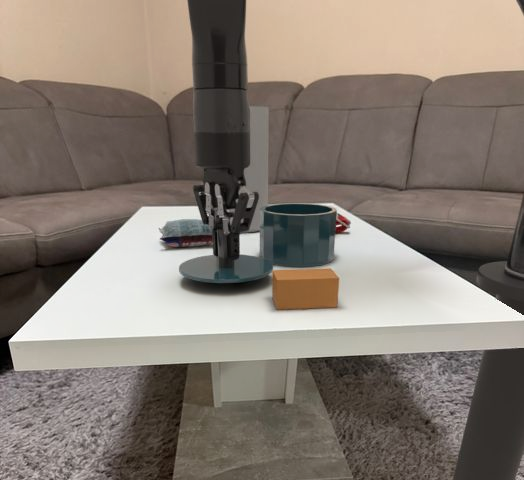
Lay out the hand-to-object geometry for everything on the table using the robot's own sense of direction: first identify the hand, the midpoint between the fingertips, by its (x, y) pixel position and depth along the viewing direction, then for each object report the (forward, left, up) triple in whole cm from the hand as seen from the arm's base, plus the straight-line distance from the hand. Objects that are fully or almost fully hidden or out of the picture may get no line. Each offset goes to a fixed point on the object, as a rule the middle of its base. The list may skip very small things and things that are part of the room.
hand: (226, 257), depth 68 cm
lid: (0, 0, -2) cm, 2 cm away
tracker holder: (-36, -15, -4) cm, 39 cm away
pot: (-18, -4, -4) cm, 19 cm away
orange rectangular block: (-3, +15, -4) cm, 15 cm away
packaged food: (-8, -25, -4) cm, 27 cm away
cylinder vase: (-26, -32, -4) cm, 41 cm away
